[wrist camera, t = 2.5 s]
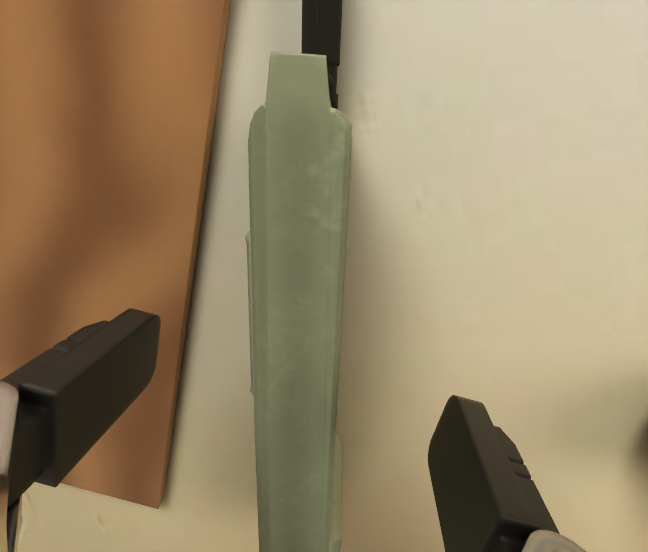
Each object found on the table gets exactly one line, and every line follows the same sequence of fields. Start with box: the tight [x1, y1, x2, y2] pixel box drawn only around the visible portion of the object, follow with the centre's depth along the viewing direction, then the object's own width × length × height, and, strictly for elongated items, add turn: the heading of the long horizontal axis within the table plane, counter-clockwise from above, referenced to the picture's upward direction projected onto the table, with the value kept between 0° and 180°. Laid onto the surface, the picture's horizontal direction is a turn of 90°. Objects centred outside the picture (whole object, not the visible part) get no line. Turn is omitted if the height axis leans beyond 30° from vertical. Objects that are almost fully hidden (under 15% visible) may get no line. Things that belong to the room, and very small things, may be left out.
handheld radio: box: [245, 0, 352, 552], centre depth 14 cm, size 7×3×25 cm
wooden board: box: [0, 0, 231, 509], centre depth 17 cm, size 11×30×1 cm, turn 166°
